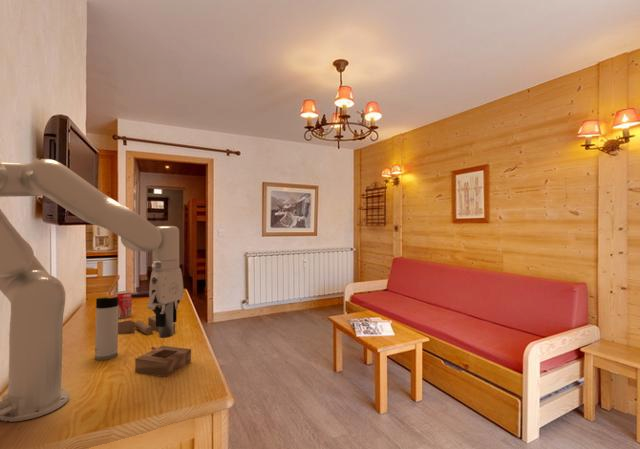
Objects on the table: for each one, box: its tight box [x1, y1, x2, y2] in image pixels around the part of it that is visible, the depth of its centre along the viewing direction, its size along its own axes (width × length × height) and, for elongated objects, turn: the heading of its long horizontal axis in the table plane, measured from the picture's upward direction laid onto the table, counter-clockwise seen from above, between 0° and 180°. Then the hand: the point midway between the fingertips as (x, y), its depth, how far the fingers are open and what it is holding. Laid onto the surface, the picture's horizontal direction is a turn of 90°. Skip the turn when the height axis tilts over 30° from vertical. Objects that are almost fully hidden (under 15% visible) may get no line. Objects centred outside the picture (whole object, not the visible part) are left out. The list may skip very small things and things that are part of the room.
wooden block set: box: [118, 315, 176, 336], centre depth 130 cm, size 17×6×18 cm
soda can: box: [114, 290, 133, 320], centre depth 153 cm, size 7×7×12 cm
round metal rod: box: [158, 302, 174, 339], centre depth 99 cm, size 4×4×14 cm
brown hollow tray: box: [134, 345, 192, 378], centre depth 99 cm, size 11×11×4 cm
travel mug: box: [94, 296, 119, 361], centre depth 106 cm, size 6×7×20 cm
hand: (166, 323), depth 99 cm, fingers closed on round metal rod, 4 cm apart
